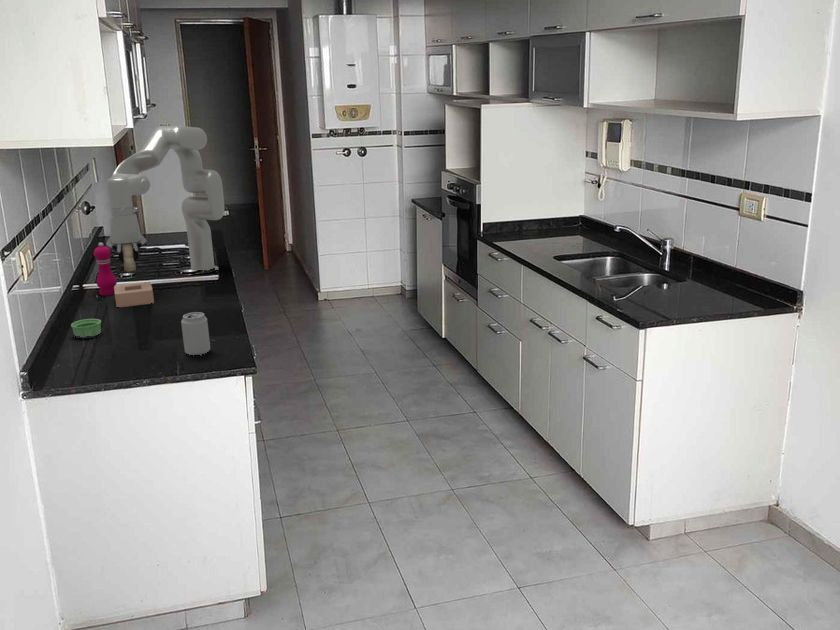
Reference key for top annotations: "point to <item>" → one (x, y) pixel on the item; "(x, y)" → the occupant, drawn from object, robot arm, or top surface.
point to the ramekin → (86, 327)
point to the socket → (133, 294)
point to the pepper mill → (104, 271)
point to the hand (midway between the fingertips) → (129, 261)
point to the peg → (128, 257)
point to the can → (195, 333)
